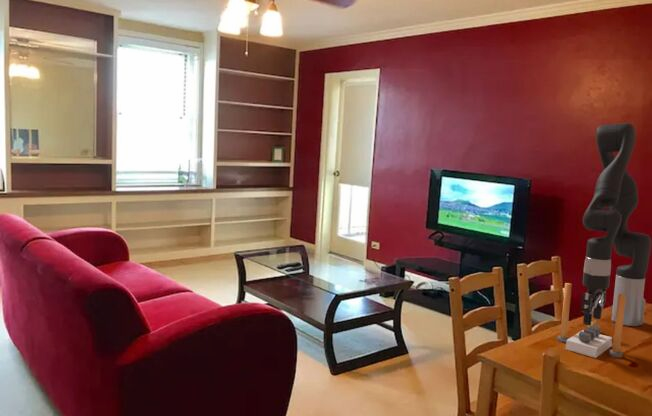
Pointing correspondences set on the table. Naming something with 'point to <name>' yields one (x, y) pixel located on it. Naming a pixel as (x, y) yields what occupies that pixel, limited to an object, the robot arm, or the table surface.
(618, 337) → the post
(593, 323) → the figurine
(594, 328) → the paddle
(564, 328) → the post
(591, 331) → the paddle mid
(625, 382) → the table surface
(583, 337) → the paddle
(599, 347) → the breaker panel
